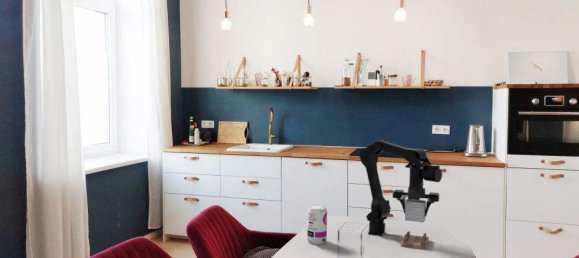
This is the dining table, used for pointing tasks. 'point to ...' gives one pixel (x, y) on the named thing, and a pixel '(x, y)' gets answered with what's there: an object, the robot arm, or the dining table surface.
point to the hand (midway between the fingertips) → (415, 215)
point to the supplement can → (317, 225)
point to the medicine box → (415, 210)
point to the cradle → (415, 241)
